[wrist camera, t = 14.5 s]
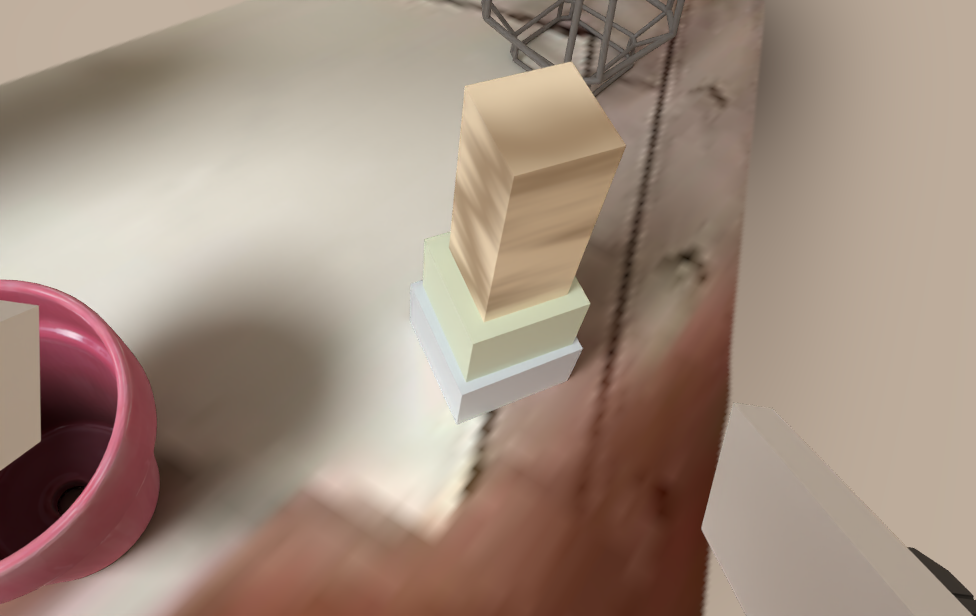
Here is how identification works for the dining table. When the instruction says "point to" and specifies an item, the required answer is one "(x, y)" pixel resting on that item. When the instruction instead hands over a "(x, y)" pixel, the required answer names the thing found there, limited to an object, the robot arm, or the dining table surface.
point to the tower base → (493, 387)
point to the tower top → (500, 338)
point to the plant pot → (78, 451)
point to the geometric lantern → (575, 17)
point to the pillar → (529, 186)
